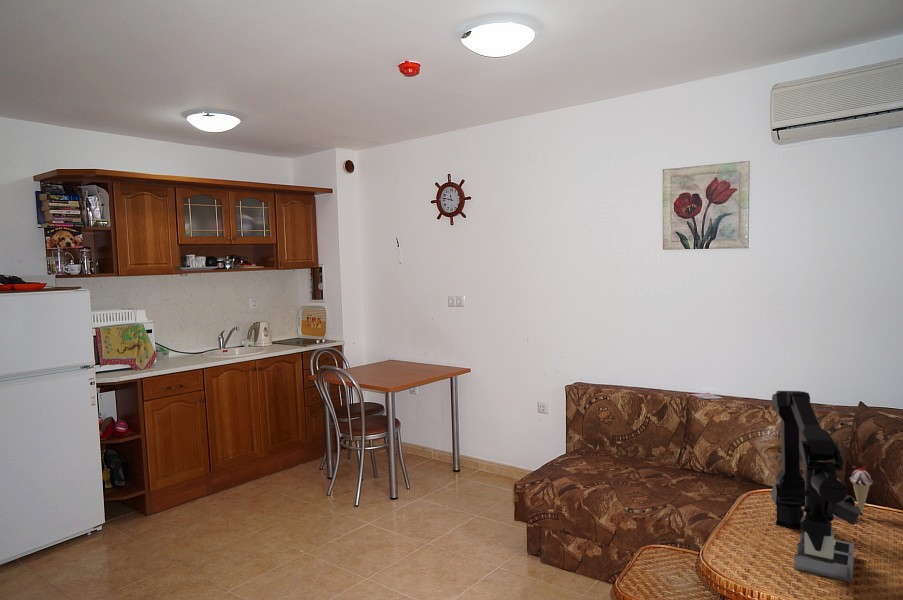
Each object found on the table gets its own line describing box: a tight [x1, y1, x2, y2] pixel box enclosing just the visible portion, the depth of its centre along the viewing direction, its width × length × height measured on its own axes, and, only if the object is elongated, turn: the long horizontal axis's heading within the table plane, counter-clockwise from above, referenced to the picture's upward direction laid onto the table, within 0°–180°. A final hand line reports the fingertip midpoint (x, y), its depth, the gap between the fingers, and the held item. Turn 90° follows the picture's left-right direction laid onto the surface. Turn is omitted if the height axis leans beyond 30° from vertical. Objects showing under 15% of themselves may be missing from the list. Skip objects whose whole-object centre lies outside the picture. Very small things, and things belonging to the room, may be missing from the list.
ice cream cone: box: [849, 467, 874, 517], centre depth 172 cm, size 6×6×15 cm
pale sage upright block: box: [803, 529, 835, 560], centre depth 145 cm, size 6×4×6 cm, turn 54°
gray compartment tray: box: [793, 532, 855, 583], centre depth 148 cm, size 12×14×4 cm
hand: (818, 547), depth 145 cm, fingers closed on pale sage upright block, 4 cm apart
